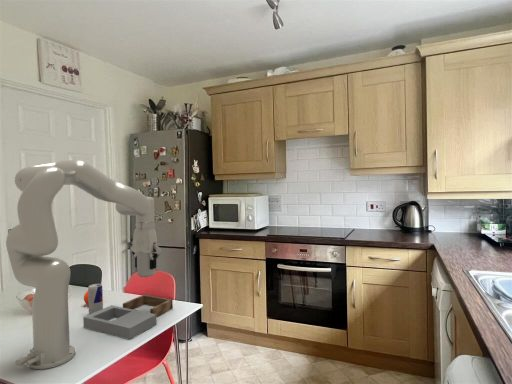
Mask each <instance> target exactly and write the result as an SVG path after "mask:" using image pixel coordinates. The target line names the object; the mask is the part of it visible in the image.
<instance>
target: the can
mask: <svg viewBox="0 0 512 384" xmlns="http://www.w3.org/2000/svg"><path fill="white" fill-rule="evenodd" d="M152 252H153V251H152ZM152 255H153V256H154V253H153V254H152ZM150 260H151V258H150V256H149V254H144V252H142V251H138V252H137V268H136V274H137V276H138V277H140V278H150V277H153V276H155V274H156V273H157V267H156V268H155V269H150Z"/></svg>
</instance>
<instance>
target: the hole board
mask: <svg viewBox="0 0 512 384" xmlns="http://www.w3.org/2000/svg"><path fill="white" fill-rule="evenodd" d="M114 318H115V319H114ZM82 319H83V321H82V322H83V328H85V329H87V330H92V331H95V332H100V333H103V334H107V335H112V336H114V337H119V338H122V339H127V340H133V339H134V338H135V337H137V336H139V335H141V334H143V333H144V332H146V331H148V330H149V329H150V330H151V328H154V327H155V326H157V324H158V323H157V317H156V314H152V313H150V312H147V311H142V310H137V309H128V308H123V306H118V305H109V306H106V307H103V309H101V310H99V311H97V312H94V313H92V314H90V315H89V314H87V315H85V316H83V318H82ZM111 319H113V320H111Z"/></svg>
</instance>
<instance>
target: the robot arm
mask: <svg viewBox="0 0 512 384" xmlns="http://www.w3.org/2000/svg"><path fill="white" fill-rule="evenodd" d="M14 184H15V186H16V188H17V189H18V190H19V191H20V192H21V194H20V195H19V198H18V202H17V208H16V209H17V216H18V218H17V219H18V223H19V224H17V225H15V226H13V227H12V228H11V229H10V230H9V232H8V233H7V236H6V240H5V245H6V251H7V255H8V258H9V262H10V266H11V269H12V273H13V275H14V277H15V278H14V279H16V281H17V282H18V283H20V284H21V285H24V286H27V287H32V288H35V291H34V294H33V298H32V303H31V313H32V338H33V339H32V340H33V341H32V342H33V343H32V345H33V348H30V349H29V353H28V354H27V355H26V356H24V357H23V356H22V357H21V358H18V359H17V360H16V361H15V365H16V366H17V367H18V368H20V367H22V366H23V365H26V366H28V367H29V368H30V369H34V370H45V369H51V368H54V367H57V366H60V365H63V364H65V363H67V362H69V361H70V360H72V358H74V356H75V355H76V348H75V346H73V345H71V344H70V322H69V321H70V318H69V285H70V282H71V281H70V280H71V268H70V266H69V264H68V263H67V262H66V261H64V260H63V259H61V258H59V257H51V256H48V255H51V254H52V253H54V252H55V251H56V250H57V248H58V245H59V237H58V231H57V229H56V224H55V220H54V216H53V209H52V205H53V201H54V199H55V197H56V196H57V194H59V192H60V191H61V190H62V189H63V187H64V186H65V185H67V186H69V185H70V186H71V185H72V186H76V187H77V188H79V189H81V190H82V191H84V192H85V193H87V194H89V195H91V196H92V197H94V198H96V199H98V200H100V201H104V202H107V203H113V204H115V209H116V210H115V211H116V212H118V214H119V215H123V216H130V217H131V216H135V223H134V225H135V229H134V230H133V235H132V245H131V246H130V247H129V249H130V251H131V254H132V255H133V258H134V267H135V268H136V269H137V252H138V251H142V252H144V254H149V256H150V258H151V260H150V269H155V268H156V269H157V259H158V257H159V256H160V254H161V253H162V249H161V247H160V246H158V238H157V231H156V229H155V228H156V227H155V223H156V222H155V199H154V197H153V196H146V195H145V194H143V193H142V192H140V190H137V189H135V188H133V187H132V186H129V185H126V184H124V183H121V182H120V181H117V180H114V179H112V178H110V177H109V176H107V175H106V174H104V173H103V172H101V171H100V170H99V169H97V168H96V167H94V166H93V165H91V164H90V163H88V162H86V161H84V160H81V159H69V160H67V159H65V160H60V161H55V162H54V161H53V162H49V163H42V164H37V165H31V166H26V167H24V168H23V167H22V168H21V169H20V170H18V171H17V173H16V174H15V176H14ZM152 251H153V252H152ZM153 253H154V256H153V255H152V254H153Z"/></svg>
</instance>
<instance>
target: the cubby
mask: <svg viewBox="0 0 512 384" xmlns="http://www.w3.org/2000/svg"><path fill="white" fill-rule="evenodd" d="M173 303H174V302H173V299H171V298H165V297H161V296H160V297H159V296H154V295H149V294H142V295H139V296H137V297H135V298H132V299H130V300H128V301H125V302H123V303H122V307H123V308H128V309H133V310H137V308H138V309H139V307H142V306H144V305H145V306H151V308H150V311H149V313H152V314H156V318H158V317H160V316H162V315H163V314H164V315H165V314H166V313H167V312H170V311H171V310H173V308H174V306H173V305H174V304H173Z"/></svg>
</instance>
